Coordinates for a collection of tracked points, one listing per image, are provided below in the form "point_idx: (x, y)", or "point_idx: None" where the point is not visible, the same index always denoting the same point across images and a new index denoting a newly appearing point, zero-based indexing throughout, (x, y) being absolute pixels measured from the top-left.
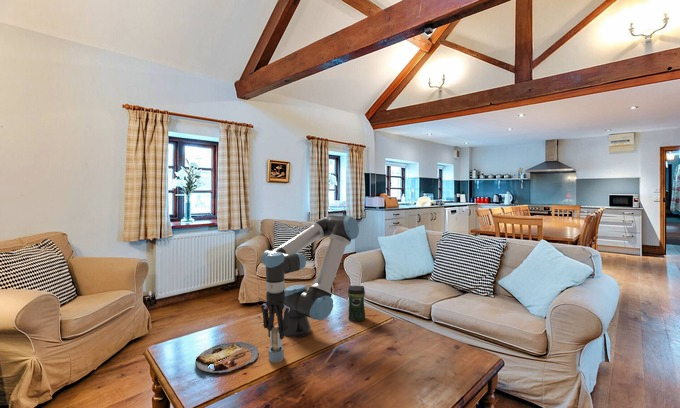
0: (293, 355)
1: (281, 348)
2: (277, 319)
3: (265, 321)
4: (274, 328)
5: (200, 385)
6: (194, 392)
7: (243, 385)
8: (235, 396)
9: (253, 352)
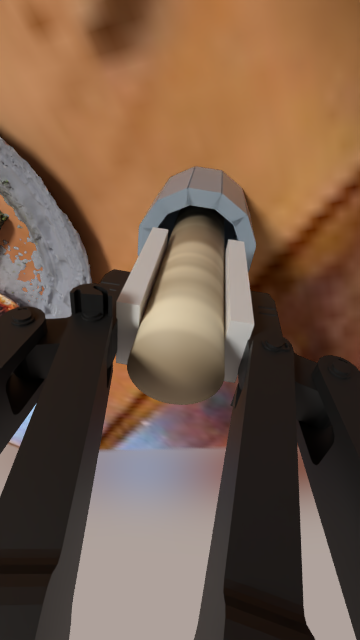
0: (307, 127)
1: (229, 218)
2: (211, 548)
3: (2, 441)
4: (170, 398)
5: None
6: (25, 426)
7: (145, 396)
8: (153, 433)
9: (14, 179)
